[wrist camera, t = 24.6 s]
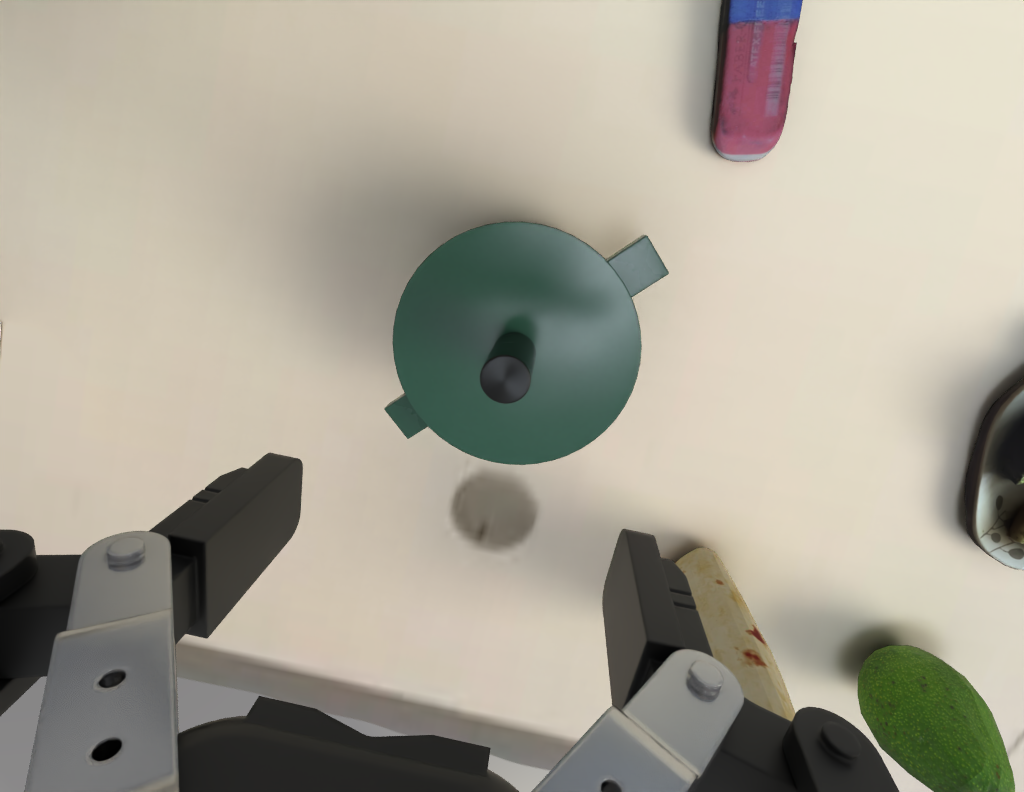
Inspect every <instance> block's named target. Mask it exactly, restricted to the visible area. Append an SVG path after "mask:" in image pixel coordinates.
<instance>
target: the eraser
mask: <svg viewBox="0 0 1024 792" xmlns="http://www.w3.org/2000/svg"><path fill="white" fill-rule="evenodd" d="M802 1H803V0H722V6H721V16H720V27H719V42H718V59H717V69H716V79H715V89H714V100H713V111H712V122H711V137H712V141H713V145H714V147H715V149H716V151H717V152H718V153H719V154H720V155H721V156H722V157H724V158H726V159H728V160H731V161H737V162H750V161H756V160H759V159H761V158H763V157H764V156H766V155H767V154H768V153H769V152H770V151H771V150H772V149H773V148H774V146H775V145H776V143H777V141H778V140H779V138H780V136H781V133H782V130H783V127H784V123H785V119H786V114H787V108H788V100H789V94H790V86H791V83H792V73H793V63H794V57H795V50H796V44H797V43H794V39H795V35H796V31H797V28H798V23H799V18H800V12H801V6H802Z"/></svg>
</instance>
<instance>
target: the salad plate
mask: <svg viewBox="0 0 1024 792" xmlns="http://www.w3.org/2000/svg"><path fill="white" fill-rule="evenodd" d="M965 508H966V526H967V532H968V534H969V536H970V537H971V539H972V540H973V541H974V543H975V544H976V545H977V546H979V547H980V548H981V549H982V550H983V551H984V552H985V553H987V554H988V555H989V556H991V557H992V558H994V559H995V560H997V561H999V562H1000V563H1002V564H1003V565H1005V566H1008V567H1010V568H1013V569H1019V570H1024V378H1023V379H1022V380H1020V381H1019V382H1017V383H1016V384H1015V385H1013V386H1012V387H1011V388H1010V389H1008V390H1007V391H1006V392H1005V393H1004V394H1003V395H1002V396H1001V397H1000V398H999V399H998V400H997V401H996V402H995V403H994V404H993V406H992V407H991V408H990V410H989V411H988V413H987V415H986V417H985V418H984V421H983V423H982V425H981V428H980V431H979V435H978V438H977V441H976V443H975V447H974V451H973V454H972V457H971V461H970V464H969V468H968V471H967V475H966V484H965Z"/></svg>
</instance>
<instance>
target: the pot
mask: <svg viewBox="0 0 1024 792" xmlns="http://www.w3.org/2000/svg"><path fill="white" fill-rule="evenodd" d="M606 261H607V262H608V263H609V264H610V265H611V266H612V267H613V268H614V270H615V271H616V272H617V274H618V275H619V277H620V278H621V280H622V281H623V282H624V284H625V286H626V288H627V290H628V292H629V294H630V296H631V297H633V296H634V295H636V294H638V293H639V292H641V291H642V290H644V289H646V288H647V287H649V286H650V285H652V284H653V283H655V282H657V281H658V280H660V279H661V278H663V277H664V276H666V275H668V274H669V272H668V270H667V269H666V267H665V265H664V263H663V262H662V260H661V258H660V257H659V255H658V253H657V251H656V250H655V248H654V246H653V245H652V243H651V241H650V240H649V238H648V236H647V235H642V236H641V237H639V238H638V239H636V240H635V241H633V242H632V243H630V244H629V245H627V246H626V247H624V248H623V249H621V250H620V251H618V252H617V253H615V254H614V255H612V256H611V257H609V258H608V259H606ZM385 411H386V412H387V413H388V414H389V416H390V417H391V418H392V420H393V421H394V422H395V423H396V425H397V426H398V427H399V428H400V430H401V431H402V432H403V434H404V435H405V436H406V437H407V439H409V438H410V437H412V436H413V435H415V434H417V433H418V432H420V431H421V430H423V429H425V428H426V427H428V426H427V424H426V423H425V422H424V421H423V420H422V419H421V418H420V416H419V415H418V414H417V412H416V411H415V409H414V408H413V406H412V405H411V403H410V402H409V400H408V398H407V396H406V394H405V393H404V394H403V395H401V396H400V397H398V398H397V399H395V400H394V401H392V402H391V403H389V404H388V405H387V406H386V408H385Z"/></svg>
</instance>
